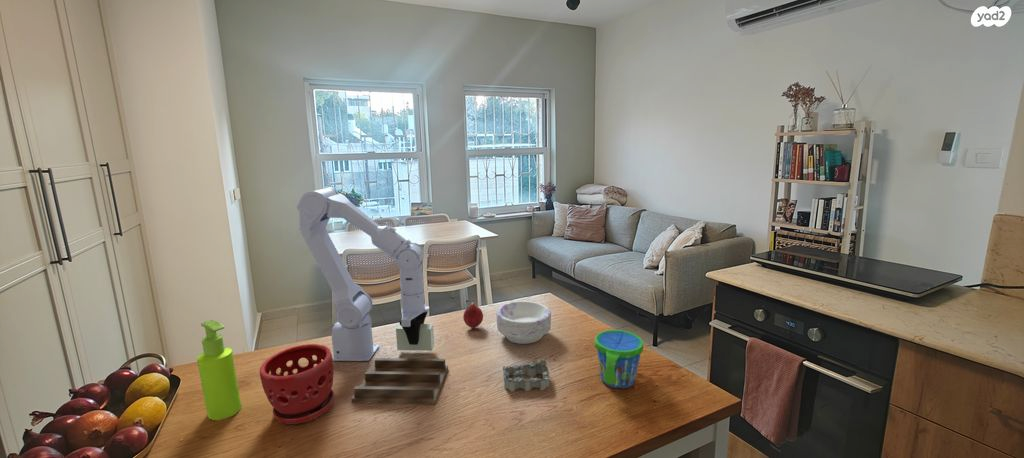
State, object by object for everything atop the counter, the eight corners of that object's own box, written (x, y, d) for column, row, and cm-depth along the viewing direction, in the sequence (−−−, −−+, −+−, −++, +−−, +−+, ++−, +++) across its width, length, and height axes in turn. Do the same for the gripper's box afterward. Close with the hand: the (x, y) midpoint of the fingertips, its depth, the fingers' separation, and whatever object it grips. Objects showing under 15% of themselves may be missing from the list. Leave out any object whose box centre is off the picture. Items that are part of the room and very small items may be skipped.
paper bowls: (553, 349, 113) (553, 321, 111) (495, 349, 113) (494, 322, 111) (548, 324, 127) (548, 299, 126) (498, 325, 128) (497, 300, 126)
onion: (482, 332, 123) (481, 306, 121) (462, 332, 123) (461, 306, 121) (484, 324, 129) (483, 299, 127) (465, 324, 129) (464, 299, 127)
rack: (351, 402, 91) (350, 390, 90) (375, 368, 105) (374, 357, 104) (434, 404, 90) (434, 391, 89) (448, 369, 104) (447, 357, 103)
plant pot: (289, 392, 95) (282, 343, 93) (347, 392, 95) (342, 343, 92) (252, 431, 82) (243, 375, 80) (319, 432, 82) (312, 375, 79)
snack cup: (629, 406, 88) (631, 361, 86) (582, 390, 94) (582, 348, 92) (650, 371, 101) (652, 332, 99) (607, 360, 107) (608, 322, 105)
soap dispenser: (218, 426, 84) (201, 332, 80) (202, 414, 88) (185, 324, 84) (249, 410, 89) (235, 320, 85) (232, 400, 93) (218, 314, 88)
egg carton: (547, 374, 101) (547, 358, 100) (550, 392, 94) (550, 375, 93) (503, 374, 101) (502, 358, 100) (502, 392, 94) (502, 376, 93)
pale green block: (397, 350, 110) (395, 328, 109) (401, 344, 113) (399, 323, 112) (431, 350, 110) (430, 329, 109) (434, 345, 113) (433, 324, 112)
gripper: (420, 302, 101) (423, 354, 104) (434, 282, 115) (437, 328, 118) (391, 302, 102) (395, 354, 104) (408, 282, 116) (412, 328, 118)
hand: (415, 340), depth 111 cm, fingers closed on pale green block, 3 cm apart
